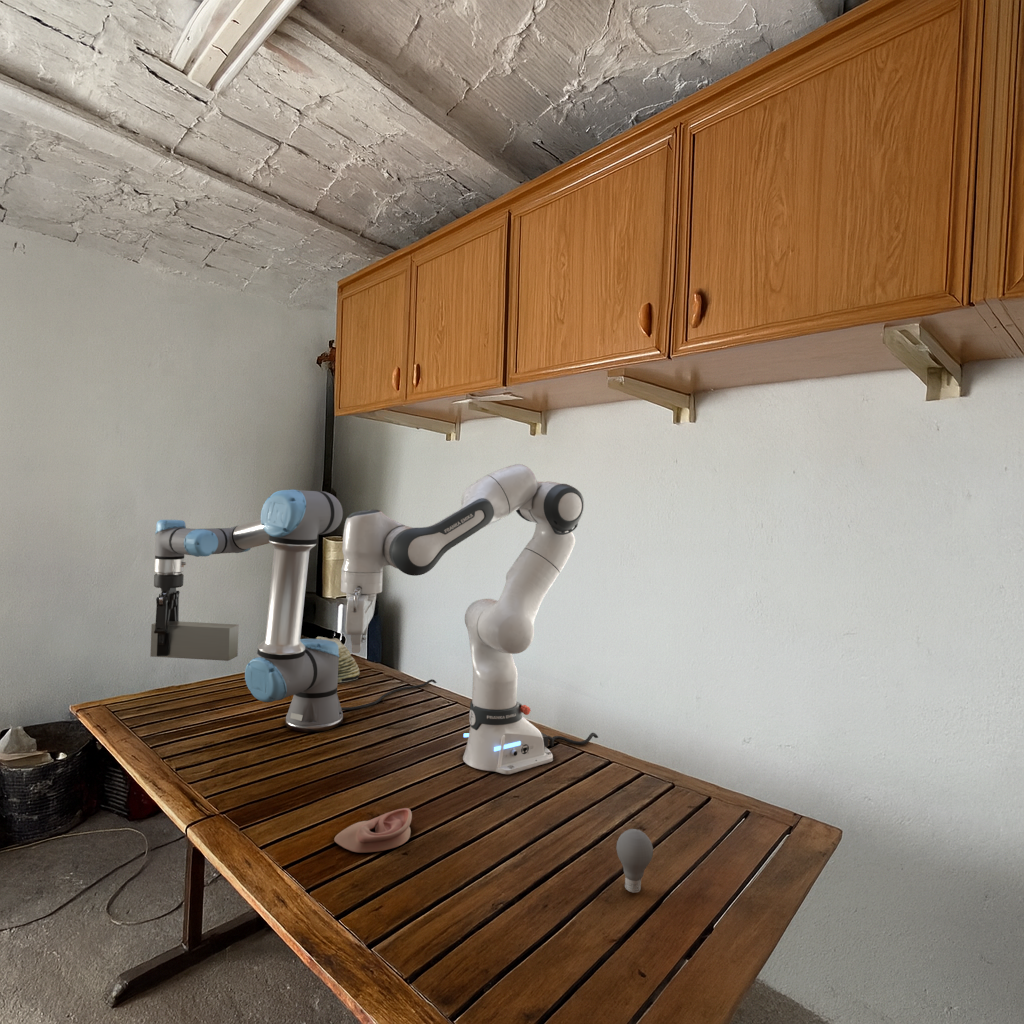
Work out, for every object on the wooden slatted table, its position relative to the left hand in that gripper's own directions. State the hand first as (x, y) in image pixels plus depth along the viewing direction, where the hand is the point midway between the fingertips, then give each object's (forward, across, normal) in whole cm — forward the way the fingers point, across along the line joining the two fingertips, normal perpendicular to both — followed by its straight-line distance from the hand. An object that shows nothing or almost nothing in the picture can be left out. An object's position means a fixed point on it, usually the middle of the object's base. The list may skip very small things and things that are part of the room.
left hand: (166, 652), depth 183 cm
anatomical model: (+16, -80, -58) cm, 100 cm away
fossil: (+16, +23, -46) cm, 54 cm away
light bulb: (+16, -103, -100) cm, 145 cm away
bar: (+1, -2, -8) cm, 8 cm away
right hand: (-15, -58, -54) cm, 81 cm away
